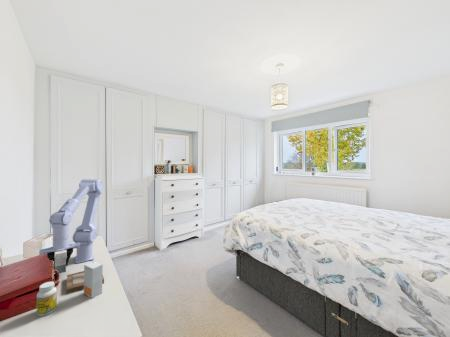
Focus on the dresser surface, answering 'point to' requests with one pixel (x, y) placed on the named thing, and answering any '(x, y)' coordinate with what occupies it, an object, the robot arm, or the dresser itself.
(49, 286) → the supplement bottle
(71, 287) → the walnut stand
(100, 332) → the dresser surface
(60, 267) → the housing
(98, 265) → the skincare box
